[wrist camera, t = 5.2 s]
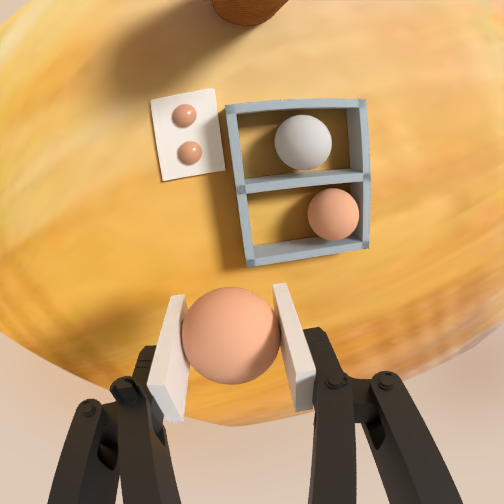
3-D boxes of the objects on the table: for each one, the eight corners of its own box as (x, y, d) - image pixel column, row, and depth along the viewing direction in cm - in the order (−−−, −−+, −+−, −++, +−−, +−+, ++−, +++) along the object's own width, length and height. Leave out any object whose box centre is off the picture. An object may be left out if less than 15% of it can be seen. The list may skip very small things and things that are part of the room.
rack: (244, 254, 30) (247, 267, 27) (224, 108, 24) (225, 105, 21) (356, 237, 30) (368, 248, 28) (352, 101, 24) (365, 99, 22)
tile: (163, 180, 26) (162, 181, 25) (151, 100, 22) (149, 100, 22) (225, 169, 26) (225, 170, 26) (214, 88, 23) (214, 87, 22)
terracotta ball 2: (302, 233, 30) (317, 252, 25) (299, 186, 27) (315, 197, 23) (346, 227, 30) (367, 244, 25) (346, 181, 28) (368, 192, 23)
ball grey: (273, 168, 27) (284, 177, 22) (267, 117, 24) (277, 115, 20) (322, 164, 27) (342, 171, 22) (318, 114, 25) (338, 112, 20)
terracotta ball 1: (197, 343, 17) (189, 406, 13) (179, 274, 15) (160, 333, 11) (276, 336, 17) (288, 398, 13) (271, 265, 15) (286, 321, 11)
